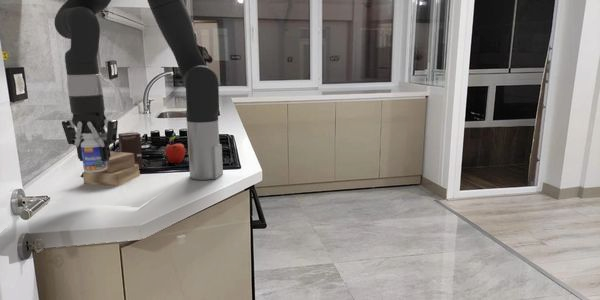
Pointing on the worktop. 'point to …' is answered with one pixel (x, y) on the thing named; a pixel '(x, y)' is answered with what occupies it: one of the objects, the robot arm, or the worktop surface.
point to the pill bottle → (92, 154)
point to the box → (131, 145)
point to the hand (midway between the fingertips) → (94, 160)
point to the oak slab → (111, 177)
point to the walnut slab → (119, 162)
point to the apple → (175, 152)
